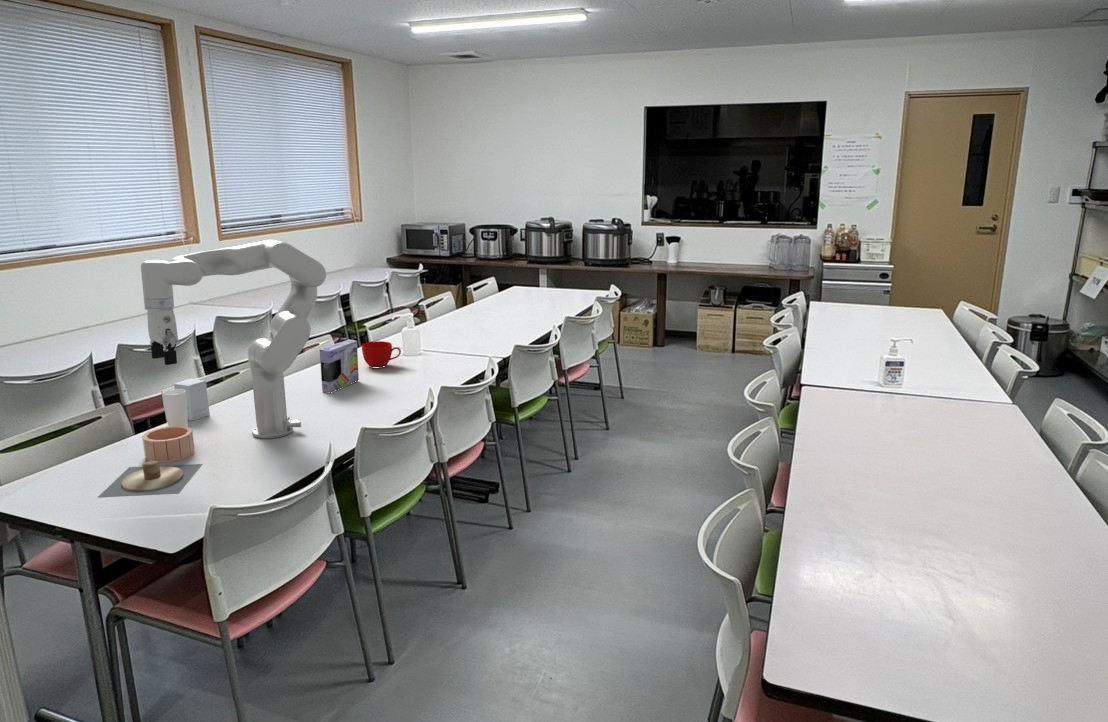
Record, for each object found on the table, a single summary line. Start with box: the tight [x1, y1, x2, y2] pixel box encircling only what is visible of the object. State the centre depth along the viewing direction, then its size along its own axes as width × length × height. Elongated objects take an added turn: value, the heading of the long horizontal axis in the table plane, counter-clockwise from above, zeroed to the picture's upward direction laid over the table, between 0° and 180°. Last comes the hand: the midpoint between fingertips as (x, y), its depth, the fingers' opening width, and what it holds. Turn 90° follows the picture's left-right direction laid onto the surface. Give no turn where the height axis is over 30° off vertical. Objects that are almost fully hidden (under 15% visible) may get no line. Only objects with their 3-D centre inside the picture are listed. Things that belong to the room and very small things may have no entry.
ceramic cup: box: [361, 340, 402, 368], centre depth 317 cm, size 13×17×10 cm
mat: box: [97, 463, 203, 498], centre depth 199 cm, size 20×20×1 cm
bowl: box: [141, 425, 196, 464], centre depth 216 cm, size 13×13×7 cm
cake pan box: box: [319, 338, 360, 394], centre depth 285 cm, size 19×5×18 cm, turn 158°
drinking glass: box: [161, 388, 189, 427], centre depth 231 cm, size 7×7×15 cm
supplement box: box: [173, 377, 210, 421], centre depth 250 cm, size 7×7×13 cm
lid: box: [121, 461, 183, 491], centre depth 199 cm, size 15×15×5 cm
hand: (164, 361), depth 211 cm, fingers open, 9 cm apart
